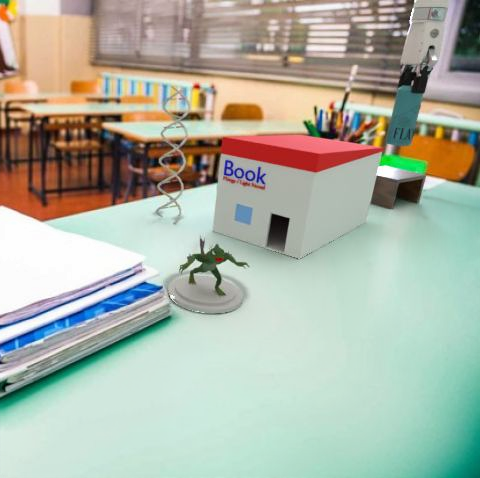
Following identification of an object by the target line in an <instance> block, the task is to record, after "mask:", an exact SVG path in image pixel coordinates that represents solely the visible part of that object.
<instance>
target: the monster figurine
mask: <svg viewBox="0 0 480 478" xmlns="http://www.w3.org/2000/svg"><path fill="white" fill-rule="evenodd" d="M205 244H206V237H204V238H202V237H201V235H199V248H200V253H192V254H190V253H188V254H189V255H188V256H186V259H187V261H186V262H185V263H183V264H180V265H179V269H178V272H179V273H180V274H181V275H182V274H183V272H184V271H186V270H187V269H188V268H189V267H190V266H191V265H192V264H193V263H194V262H195V261H197V262H199V263H201V264H200V265H199V266H198V267H194V268H193V269H191V270H190V272H189V275H184V276H180V277H178V278H176V279H174V280H171V282H170V283H169V285H168V289H167V294H168V293H169V294H170V295H173V296H175V299H173V300H174V301H175V302H176V303H177V304H178V305H180V306H182V307H184V308H186V309H190V310H193V311H199V312H204V313H224V314H226V313H225V312H228V313H231V312H230V311H232V310H234V311H236V310H237V309H236V308H238V307H239V306H240V307H241V305H242V304H241V303H243V299H244V297H243V296H244V295H243V292H242V291H241V289H240V288H239V287H238V286H237V285H235V284H234V283H232V282H230V281H228V280H225V279H222V275H221V272H220V270H219V268H218V267H217V266H219V265H221V264H222V263H225V262H227V261H229V262H231V263H232V264H234V265H235V266H237V267H239V268H240V267H242V268H244V269H247V268H246V267H245V266H247V267H248V268H250V265H249V264H248V262H247V261H246V262H245V261H237V260H236V259H235V257H234V256H233V254H232V253H230V251H228V252H227V251H225V250H224V249H223V248H222V247H220V245H219V243H214V246H213V244H212V246H211V245H209V246H210V248H208V249H209V251H207V252H206V253H205V250H204V249H205ZM207 272H211V274H212V275H213V276H209V275H201V274H200V275H199V274H198V273H207ZM178 305H177V306H178ZM180 306H179V307H180ZM182 307H181V308H182ZM240 307H239V308H240ZM184 308H183V309H184ZM239 308H238V309H239ZM186 309H185V310H186ZM235 309H236V310H235ZM193 311H192V312H193ZM232 312H233V311H232Z"/></svg>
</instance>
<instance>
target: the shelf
mask: <svg viewBox="0 0 480 478" xmlns="http://www.w3.org/2000/svg"><path fill="white" fill-rule="evenodd" d="M426 178H427V174H424V173H420V172H415V171H410V170H406V169H402V168H398V167H393V166H388V165H381V166H380V165H379V168H378V172H377V176H376V181H375V185H374V189H373V194H372V198H371V202H370V205H374V206H377V207H381V208H385V209H388V210H392V209H393V208H394V206H395V201H396V199H398V200H402V201H407V202H411V203H414V204H420V202H421V201H420V200H421V197H422V194H423V190H424V186H425V182H426Z"/></svg>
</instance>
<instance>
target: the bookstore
mask: <svg viewBox="0 0 480 478" xmlns="http://www.w3.org/2000/svg"><path fill="white" fill-rule="evenodd" d="M384 149H385V148H384V147H383V146H376V145H369V144H363V143H355V142H351V141H343V140H335V139H330V138H324V137H317V136H311V135H304V134H273V135H271V134H270V135H269V134H268V135H267V134H266V135H240V136H239V135H235V136H222V138H221V148H220V161H219V171H218V179H217V187H216V196H215V204H214V214H213V222H212V232H214V233H218V234H220V235H224V236H227V237H228V238H229V237H230V238H232V239H236V240H238V241H241V242H245V243H248V244H251V245H254V246H256V247H260V248H263V249H266V250H268V251H269V250H270V251H272V252H275V251H276V252H275V253H278V252H279V254H281V253H282V254H281V255H284V254H286V255H285V256H287V255H289V256H288V257H290V256H293V257H295V258H294V259H296V258H298V259H297V260H301V259H303V258H305V257H307V256H308V255H310V254H312V253H314V252H316V251H318V250H319V249H321V248H323V247H324V245H325V246H326V245H328V244H330V243H332V242H334V241H336V240H337V239H339V238H341V237H343V236H344V235H346V234H348V233H350V232H351V230H352V231H353V230H355V229H358V228H359V227H361V226H363V225H364V224H366V223H367V219H368V216H369V215H368V214H369V211H370V207H371V203H370V202H371V198H372V194H373V189H374V185H375V181H376V176H377V172H378V168H379V167H380V163H381V159H382V155H383V152H384ZM360 225H361V226H360ZM358 226H359V227H358ZM342 235H343V236H342ZM340 236H341V237H340ZM338 237H339V238H338ZM333 240H334V241H333ZM331 241H332V242H331ZM329 242H330V243H329ZM322 246H323V247H322ZM320 247H321V248H320ZM315 250H316V251H315ZM313 251H314V252H313ZM311 252H312V253H311ZM309 253H310V254H309ZM307 254H308V255H307ZM306 255H307V256H306ZM304 256H305V257H304ZM293 257H292V258H293ZM302 257H303V258H302ZM300 258H301V259H300Z"/></svg>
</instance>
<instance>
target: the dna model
mask: <svg viewBox="0 0 480 478" xmlns="http://www.w3.org/2000/svg"><path fill="white" fill-rule="evenodd" d="M171 89H172V90H173V91H175V93H173V94H171V95H170V96H168V97H166V99H165V100H163V102H162V110H163V111H164V112H165V114H166V115H168V116H169V117H170V118H172V119H173V120H174V121H173V122H172V123H170V124H169V125H166V126H163V129H162V130H161V131H160V136H161V138H162V140H163V141H164V142H165V143H167V144H168V145H169V146H171V147H172V148H173V149H171V150H169V151H168V152H165V153H164V154H162V155H161V156H160V157H159V158H158V164H159V165H160V166H161V167H163V168H164V169H165V170H166V171H167V172H169V173H170V174H171V176H168V177H166V178H165V179H163V180H161V181H160V182H159V183H158V184H157V185H156V188H157V189H158V191H159V192H161V194H163V195H164V196H166V197H167V198H169V201H168V202H166V203H165V204H163V205H161V206H159V207H157V208H156V209H155V214H156V215H157V216H159V217H161V218H164V216H163V215H162V214H161V213H160V212H159V211H160V210H163V209H164V210H165V209H169V208H176V207H177V209H178V212H179V213H178V216H177V218H176V219H175V221H174V222H173V223H172V225H173V224H175V225H177V223H179V221H180V220H181V217H182V207H181V205H180V204H179V203H178V201H177V200H178V199H179V198H180V197H181V196H182V195H183V192H184V189H185V188H184V187H185V186H184V183H183V181H182V179H181V178H180V176H178V175H179V174H180V173H181V172H183V170H184V169H185V167H186V164H187V159H186V157H185V155H184V154H185V152H183V151H181V149H180V148H181V147H182V146H184V144H186V142H187V140H188V137H189V133H188V129H187V127H186V126H185V125H184V123H182V122H181V121H182V120H183V119H185V117H187V116H188V114H189V113H190V111H191V109H192V108H191V102H190V101H189V99H188V96H186V95H185V94H184V93H182V92H183V91H185V88H184V87H183V88H181V89H178V88H176V87H175V86H174V85H172V86H171ZM178 95H180V96H181V97H179V98H175V97H176V96H178ZM176 100H179V101H181V100H182V101H183V100H184V101H185V102H186V106H187V109H186V111H185V112H184V113H183V115H180V116H179V115H175V114H173V113H171V112H170V111H169V110H167V108H166V104H167V103H168V102H169V101H176ZM177 124H179V125H177ZM174 125H175V126H174ZM179 128H182V129H183V130H184V131H183V132H184V133H185V136H184V139H183V140H182V141H181V142H180V144H178V143H177V144H176V143H174V142H172V141H170V140H169V139H167V138H166V137H165V134H164V133H165V132H166V131H167V130H169V129H179ZM176 151H177V153H176ZM172 153H174V154H172ZM173 156H181V158H182V161H183V162H182V166H180V168H179V169H178V171H175V170H174V169H171V168H169V167H168V166H167V165H165V164H164V163H163V162H162V161H163V159H164V158H167V157H173ZM173 178H175V179H173ZM172 179H173V180H172ZM171 182H179V184H180V191H179V193H178V194H177V195H176V196H175V197H173V196H171V195H170V194H169V193H167V192H166V191H164V190H163V189H162V188H161V186H162V185H164V184H168V183H171ZM173 203H174V204H175V205H171V204H173Z"/></svg>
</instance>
